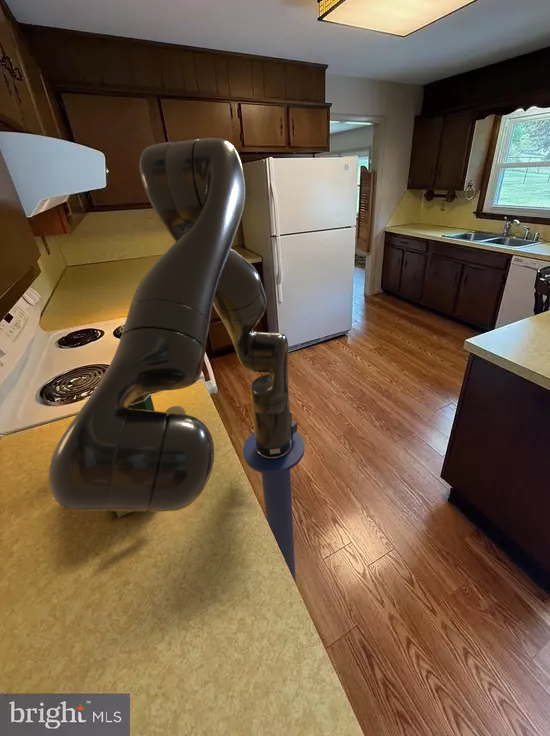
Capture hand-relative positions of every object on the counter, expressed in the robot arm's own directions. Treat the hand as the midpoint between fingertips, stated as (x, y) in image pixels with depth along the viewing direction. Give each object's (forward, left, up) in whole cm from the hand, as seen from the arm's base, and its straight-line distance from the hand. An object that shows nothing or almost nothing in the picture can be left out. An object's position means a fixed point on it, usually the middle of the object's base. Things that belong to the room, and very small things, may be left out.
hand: (139, 477), depth 52 cm
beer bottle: (-20, -38, -22) cm, 48 cm away
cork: (-22, -23, -22) cm, 39 cm away
